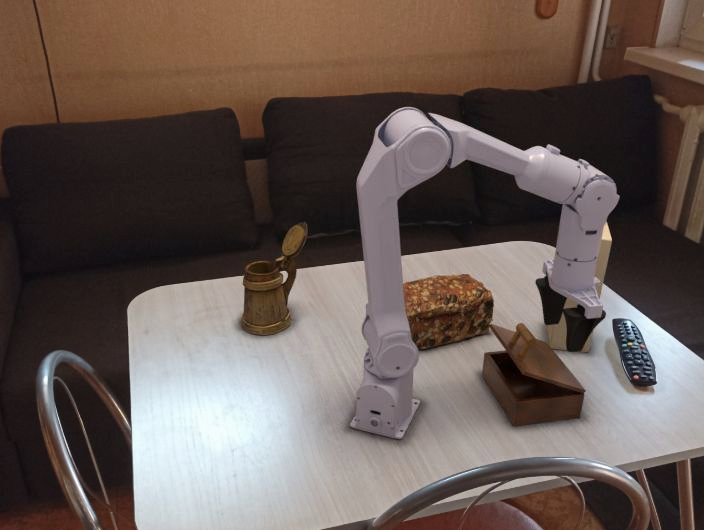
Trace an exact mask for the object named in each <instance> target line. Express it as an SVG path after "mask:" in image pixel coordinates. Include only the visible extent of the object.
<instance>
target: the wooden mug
mask: <svg viewBox="0 0 704 530" xmlns="http://www.w3.org/2000/svg"><path fill="white" fill-rule="evenodd" d="M307 237H308V223H307V222H306V221H304V222H299V223H296V224H295V225H293V226H292V227H290V229H289V230H288V231H287V232H286V234H285V236H284V238H283V241H282V246H281V254H280V256H279V258H276V259H274V260H273V262H272V261H268V260H267V261H266V260H258V261H254V262H251V263H248V264H247V265H246V266H245V268H244V274H243V278H242V286H243V287H244V289H243V290H244V295H243V312H242V316H241V327H242V329H243V330H244V331H245V332H247V333H250V334H253V335H259V336H270V335H274V334H277V333H280V332H282V331H283V330H285V329H288V327H289V326H290V325H291V323H292V317H291V311H290V308H289V307H288V303H289V297H290V293H291V291H292V289H293V286H294V285H295V281H296V278H297V271H298V269H297V264H296V261H295V259H294V257H296V256H297V255H299V253H300V252H301V251H302V249H303V247H304V246H305V243H306V240H307ZM284 271H285V272H286V274H287V277H286V279H285V280H284V274H283V273H282V272H284Z"/></svg>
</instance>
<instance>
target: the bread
mask: <svg viewBox="0 0 704 530" xmlns="http://www.w3.org/2000/svg"><path fill="white" fill-rule="evenodd" d="M403 290H404V304H405V311H406V315H407V319H408V323H409V327H410V333H411V339H412V341H413V342H414V344H415V345H416V347H417V349H418V350H427V349H429V348H434V347H437V346H438V347H439V346H442V345H447V344H451V343H452V344H453V343H455V342H459V341H460V342H461V341H462V340H464V339H468V338H470V337H475V336H476V335H484V334H485V333H487V332H488V331H489V330H490V327H489V326H490V324H492V321H493V317H494V314H493V313H494V308H495V307H494V306H495V300H494V297H493V293H492V291H491V290H489V289H488V288H486V287H485V286H484V283H483V282H482V281H479V280H477V279H476V278H474V277H473V276H472V275H470V274H469V273H468V274H467V273H462V274H457V275H455V274H452V275H445V274H444V275H434V276H428V277H424V278H419V279H415V280H412V281H411V280H410V281H405V282H403Z"/></svg>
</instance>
